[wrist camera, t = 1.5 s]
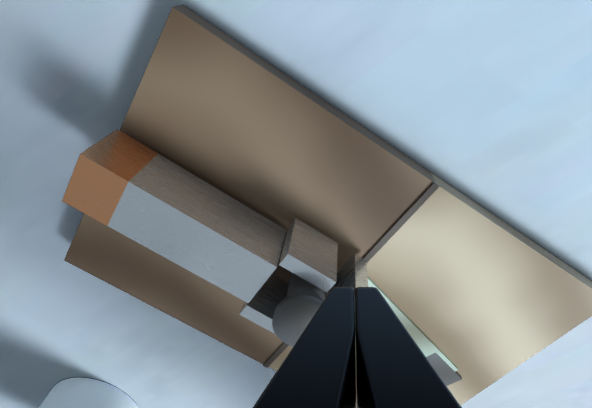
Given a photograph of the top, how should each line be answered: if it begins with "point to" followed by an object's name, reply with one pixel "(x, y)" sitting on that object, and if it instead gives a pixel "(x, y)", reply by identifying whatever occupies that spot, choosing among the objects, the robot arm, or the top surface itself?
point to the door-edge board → (330, 218)
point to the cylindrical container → (86, 395)
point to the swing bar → (203, 226)
